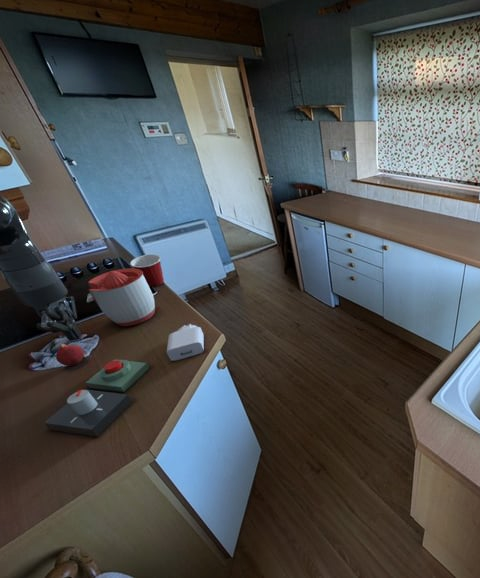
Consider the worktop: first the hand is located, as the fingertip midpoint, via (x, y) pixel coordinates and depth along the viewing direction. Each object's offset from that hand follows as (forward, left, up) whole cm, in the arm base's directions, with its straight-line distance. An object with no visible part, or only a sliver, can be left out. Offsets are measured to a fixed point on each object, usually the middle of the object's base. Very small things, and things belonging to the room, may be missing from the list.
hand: (75, 338), depth 76 cm
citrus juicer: (-18, +28, -17) cm, 37 cm away
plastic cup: (-29, +52, -17) cm, 62 cm away
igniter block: (+2, +2, -17) cm, 17 cm away
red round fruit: (-16, +5, -17) cm, 23 cm away
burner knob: (+6, -10, -14) cm, 18 cm away
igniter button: (+2, +2, -13) cm, 13 cm away
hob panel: (+6, -10, -17) cm, 21 cm away
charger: (+12, +18, -17) cm, 28 cm away
